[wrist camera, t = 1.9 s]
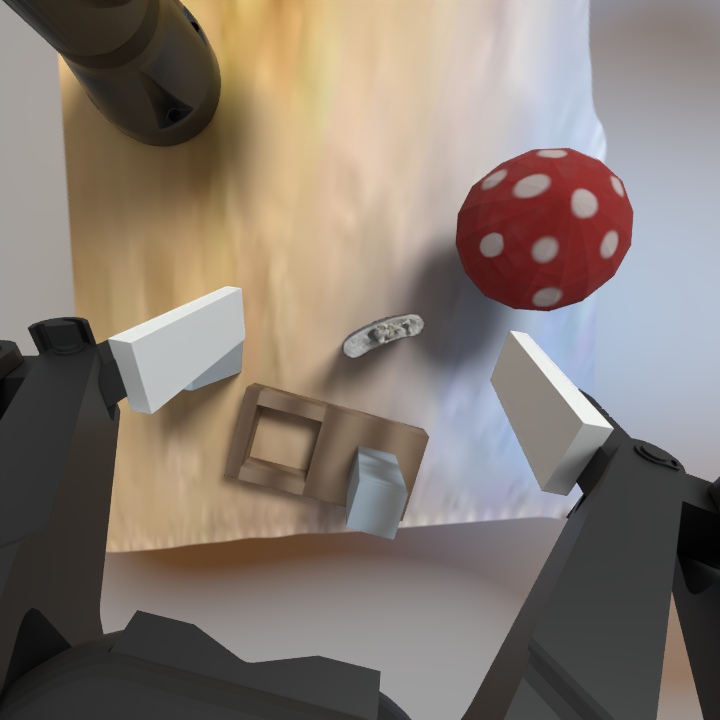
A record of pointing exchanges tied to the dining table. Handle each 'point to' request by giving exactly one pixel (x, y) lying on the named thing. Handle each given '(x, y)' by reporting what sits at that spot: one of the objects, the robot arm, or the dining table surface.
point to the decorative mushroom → (544, 229)
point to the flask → (382, 333)
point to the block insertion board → (337, 459)
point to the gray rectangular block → (220, 368)
